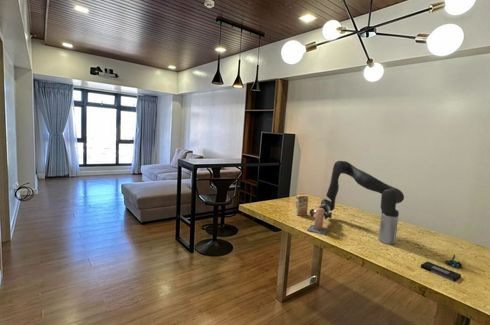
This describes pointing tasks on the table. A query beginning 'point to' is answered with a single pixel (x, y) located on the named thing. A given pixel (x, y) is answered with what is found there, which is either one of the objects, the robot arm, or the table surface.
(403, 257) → the table surface
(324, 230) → the rubber mat
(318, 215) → the terracotta canister
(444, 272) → the vhs tape
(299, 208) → the candy box
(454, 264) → the dark blue compact piece
